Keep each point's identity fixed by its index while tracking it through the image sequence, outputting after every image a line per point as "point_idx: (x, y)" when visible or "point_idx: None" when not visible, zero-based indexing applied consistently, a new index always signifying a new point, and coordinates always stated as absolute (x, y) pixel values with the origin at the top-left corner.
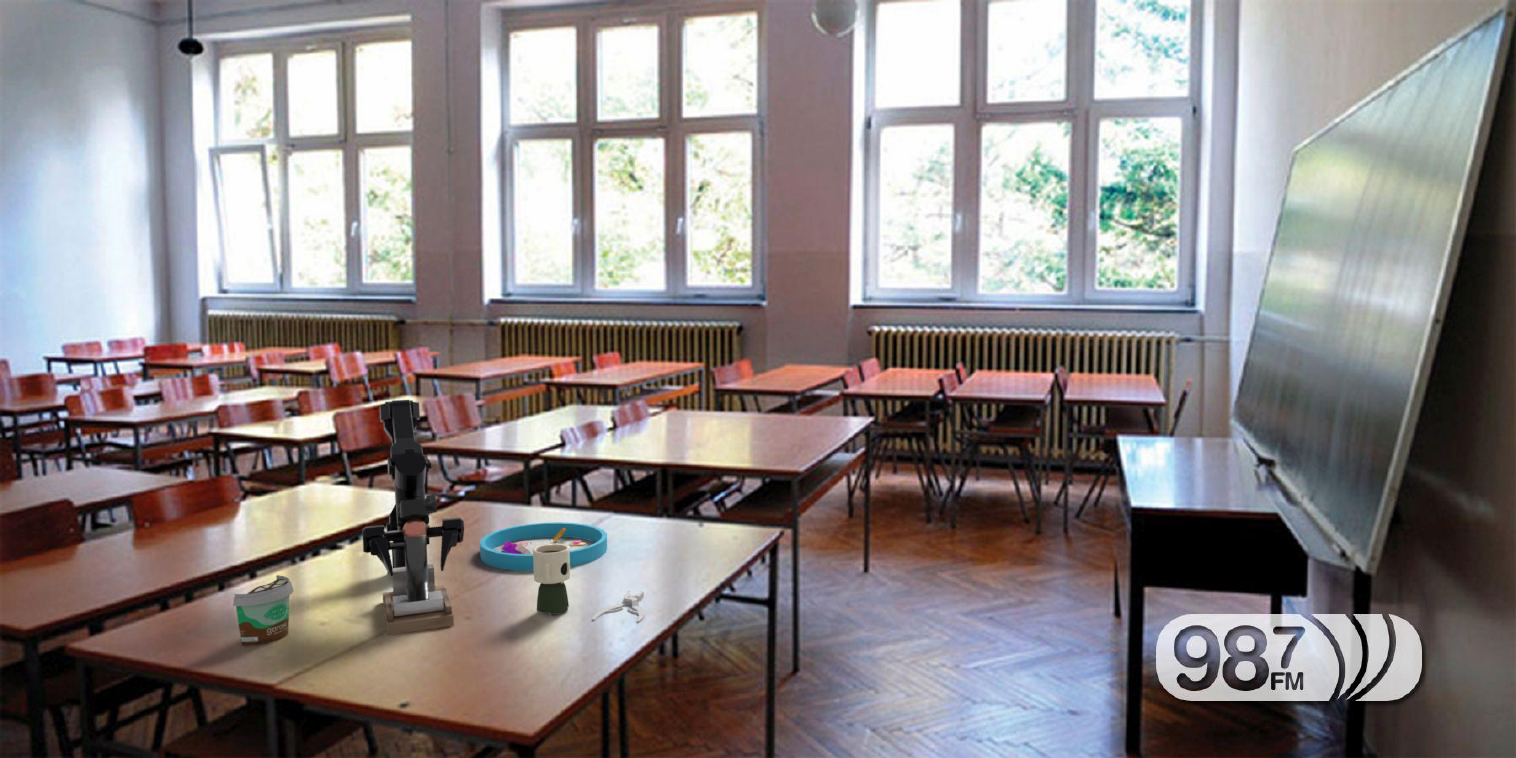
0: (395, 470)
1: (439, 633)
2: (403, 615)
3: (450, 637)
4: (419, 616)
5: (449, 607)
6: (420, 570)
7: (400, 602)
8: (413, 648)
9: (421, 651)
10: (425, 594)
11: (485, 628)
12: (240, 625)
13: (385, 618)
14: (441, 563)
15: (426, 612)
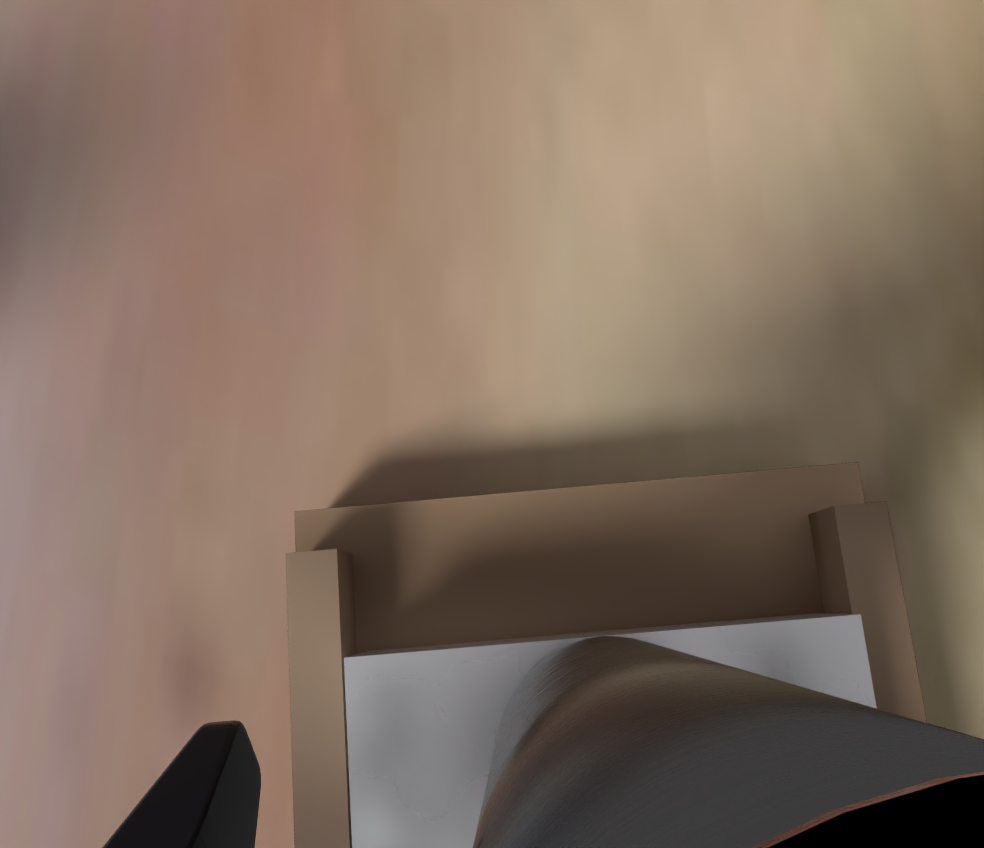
0: None
1: (430, 380)
2: None
3: (356, 273)
4: (586, 581)
5: (307, 554)
6: (597, 667)
7: (795, 659)
8: (607, 144)
9: (552, 77)
10: (528, 676)
11: (97, 379)
12: None
13: None
14: (202, 783)
15: None
